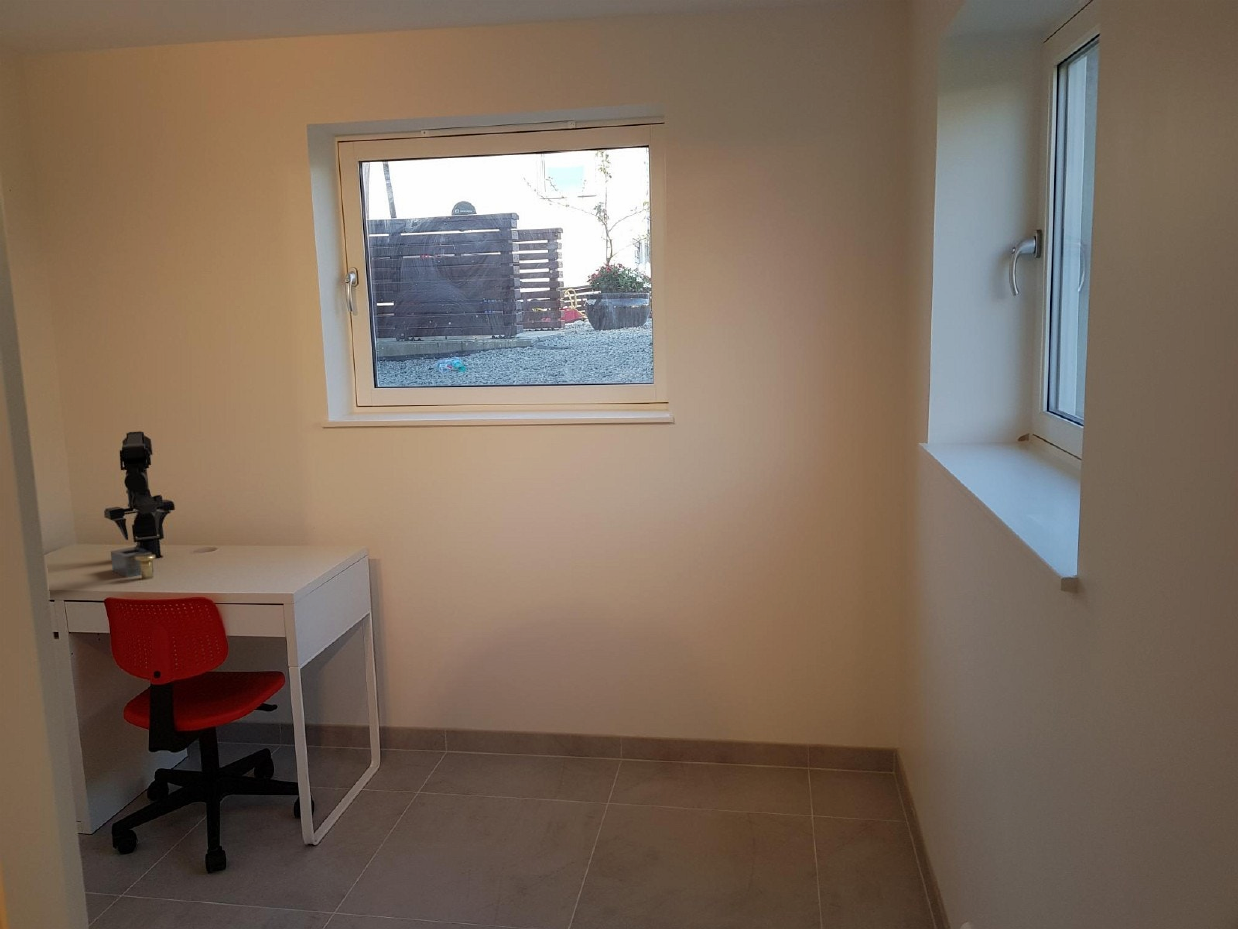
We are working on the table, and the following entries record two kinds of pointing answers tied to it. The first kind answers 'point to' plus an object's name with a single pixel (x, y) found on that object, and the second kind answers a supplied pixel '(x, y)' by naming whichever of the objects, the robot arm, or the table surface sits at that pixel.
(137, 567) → the jig
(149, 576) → the bushing
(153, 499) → the robot arm
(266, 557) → the table surface
